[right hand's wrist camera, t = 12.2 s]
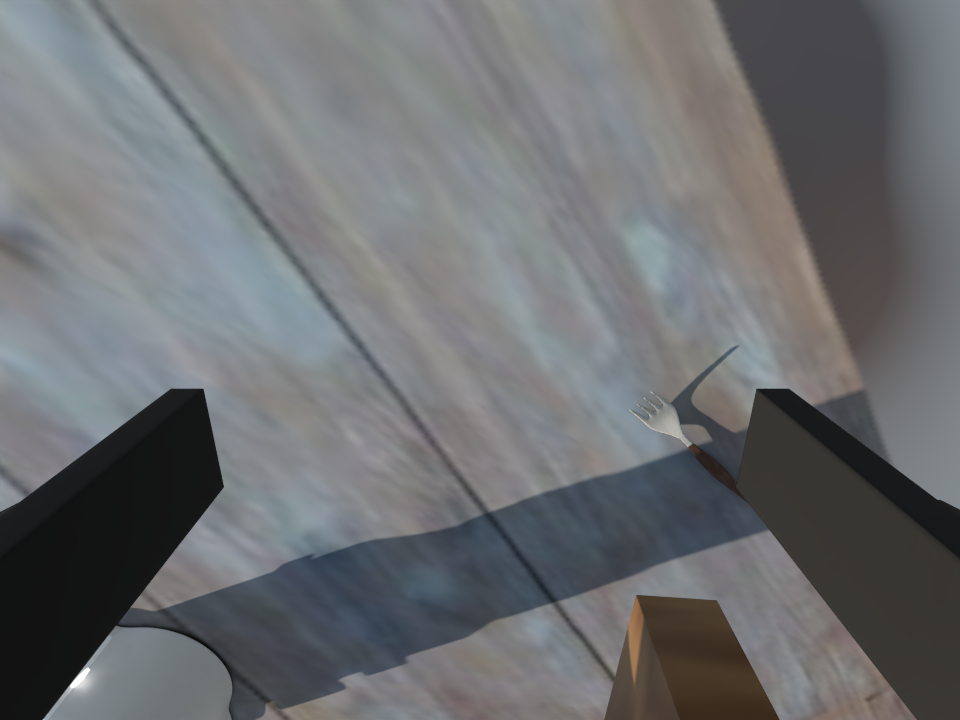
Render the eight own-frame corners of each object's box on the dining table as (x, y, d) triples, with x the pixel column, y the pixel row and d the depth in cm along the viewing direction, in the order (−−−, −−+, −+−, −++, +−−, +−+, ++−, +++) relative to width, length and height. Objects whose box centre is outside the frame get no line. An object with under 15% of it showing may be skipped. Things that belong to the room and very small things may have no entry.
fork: (740, 512, 46) (751, 528, 44) (621, 401, 42) (627, 412, 40) (765, 494, 45) (777, 509, 44) (646, 379, 42) (654, 389, 40)
